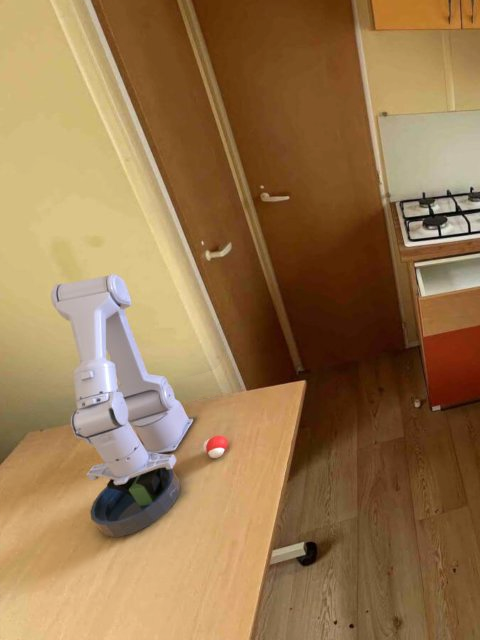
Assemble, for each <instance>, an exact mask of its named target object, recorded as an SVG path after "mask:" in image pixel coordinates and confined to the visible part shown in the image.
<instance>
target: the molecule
mask: <svg viewBox="0 0 480 640" xmlns="http://www.w3.org/2000/svg"><path fill="white" fill-rule="evenodd" d="M228 442H229V441H228V439H227V438H226V437H225V436H223V435H215V436H212V437H211V438H208V439H206V440H205V441H204V443H203V444H202V450H203V451H204V452H205V453H207V454H208V456H209V457H210V458H212V459H218V458H220V457H221V456H222V455H223V454H224V453H225V451H226V449H227V447H228V445H229V443H228Z"/></svg>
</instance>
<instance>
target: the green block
mask: <svg viewBox="0 0 480 640" xmlns="http://www.w3.org/2000/svg"><path fill="white" fill-rule="evenodd" d="M139 476H140V475H138V476H137V478H136V479H135V481H134V482H133V484H132V485H131V487H130V488H129V491H130V493H131V494H132V496H133V497H134V499H135V500H136V502H137V503H138V505H139V506H145V505H150V504H151V503H152V502H154V501H155V500H156V499H157V498H158V497H159V495H160V494H161V492H162V490H163V486H162V489H161V491H160V492H159V494H158V495H157V496H153V495H152V494H151V493H150V492H149V491H148V490H147V489H146V488H145V487H144V486H142V485H140V484H136V481H137V480H138V478H139Z"/></svg>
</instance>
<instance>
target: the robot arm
mask: <svg viewBox="0 0 480 640" xmlns="http://www.w3.org/2000/svg"><path fill="white" fill-rule="evenodd" d="M50 298H51V303H52V305H53V308H54V309H55V310H56V311H57V312H58V314H59V316H61V317H62V318H64V319H65V320H66V321H68V322H70V326H71V331H72V335H73V339H74V342H75V347H76V351H77V354H78V355H77V356H78V358H79V364H78V365H77V367H75V369H74V370H73V372H72V377H73V385H74V395H75V403H76V410H74V411H73V412H72V414H71V417H70V426H71V430H72V432H73V435H74V437H75V438H77V439H78V440H83V441H84V443H85V444H86V445H92V447H93V448H94V449H95V452H96V453H97V454H98V455H99V457H100V458H101V460H102V461H103V462H104V463H100V464H95V465H92V467H91V468H90V469H89V470H88V472H87V473H86V476H87V478H88V479H89V480H90V481H96V480H98V479H99V478H102V479H109V481H108V482H107V483H106V487H108V488H109V489H116V490H120V491H122V492H125V493H127V494H128V495H130V496H132V494H131V493H130V491H129V488H130V487H131V485H132V484H133V482H134V481H135V479H136V478H137V476H138V475H140V476H139V478H138V480H137V481H136V484H140V485H142V486H144V487H145V488H146V489H147V490H148V491H149V492H150V493H151V494H152V495H153V496H157V495H158V494H159V492H160V491H161V489H162V481H161V472H162V468H163V467H166V469H173V468H174V467H175V465H176V463H177V461H178V460H177V458H176V456H175V454H164V453H170V452H175V451H176V449H177V448H178V446H179V444H180V443H181V441H182V440H183V439H184V437H185V435H186V434H187V432H188V430H189V429H190V427H191V425H192V424H193V422H194V419H193V418H189V417H188V414H187V413H186V410H185V409H184V406H183V405H182V403H181V402H180V401H179V400H178V399H176V398H175V393H174V392H175V391H174V390H173V387H172V386H171V385H170V383H169V381H168V379H167V378H166V377H165V376H163V375H160V374H159V375H158V374H151V373H148V371H147V368H146V365H145V363H144V361H143V360H144V359H143V358H142V355H141V352H140V350H139V347H138V345H137V341H136V339H135V336H134V334H133V331H132V329H131V326H130V325H131V324H130V323H129V320H128V317H127V314H126V309H127V308H129V307H131V306H132V298H131V296H130V293H129V290H128V287H127V285H126V282H125V280H124V279H123V278H122V277H121V276H119V275H117V274H115V273H109V274H108V275H104V276H99V277H94V278H88V279H83V280H78V281H73V282H66V283H58V284H55V285H54V286H53V288H52V289H51V292H50ZM107 354H108V357H109V359H110V360H109V359H107ZM118 383H119V385H118ZM132 497H133V496H132ZM133 498H134V497H133Z"/></svg>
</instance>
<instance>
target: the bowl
mask: <svg viewBox="0 0 480 640" xmlns="http://www.w3.org/2000/svg"><path fill="white" fill-rule="evenodd" d="M161 481H162V486H163V490H162V492H161V494H160V495H159V497H158V498H157V499H156V500H155V501H154V502H152V503H151V504H150V505H145V506H139V505H138V503H137V502H136V500H135V499H134V498H133V497H132V496H130V495H128V494H127V493H125V492H122V491H120V490H116V489H109V488H108V487H107V486H105V487H104V489H102V490H101V491H100V492H99V493H98V495H97V497H96V498H95V499H94V500H93V502H92V505H91V508H90V511H89V513H90V518H91V521H92V522H93V523H94V524H95V526H96V527H97V529H99V531H100V532H101V533H102V534H103V535H105V536H108V537H112V538H118V537H123V536H125V537H126V536H128V535H131V534H134V533H136V532H139V531H141V530H143V529H144V528H146V527H148V526H150V525H152V524H153V523H154V522H156V521H157V520H158V519H160V518H161V517H162V516H164V514H165V513H167V511H169V509H170V508H171V507H172V506H173V504H174V503H175V501H176V499H177V498H178V496H179V494H180V489H181V484H180V480H179V478H178V476H177V475H176V473H175V471H174V470H173V468H172V469H166V467H163V468H162V472H161Z"/></svg>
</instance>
